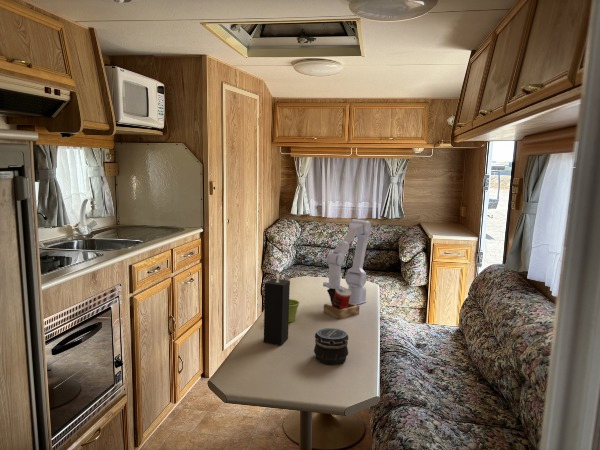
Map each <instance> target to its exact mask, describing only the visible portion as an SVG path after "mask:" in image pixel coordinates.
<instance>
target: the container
mask: <svg viewBox="0 0 600 450" xmlns="http://www.w3.org/2000/svg"><path fill="white" fill-rule="evenodd" d="M314 342H315V345H314V348H313V353H314V354H315V359H316V361H318V362H320V363H321V364H324V365H328V366H337V365H341V364H344V363H345V362H346V360H347V356H348V355H349V349H348V343H349V335H348V333H347V332H346V331H345V330H343V329H340V328H333V327H326V328H324V327H323V328H321V329H318V330H317V331H316V333H315V334H314Z"/></svg>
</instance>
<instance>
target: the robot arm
mask: <svg viewBox="0 0 600 450" xmlns="http://www.w3.org/2000/svg"><path fill="white" fill-rule="evenodd" d="M371 230H372V224H371V222H370V221H369V220H363V219H355V218H353V219H351V221H350V222H349V223H348V231H347V233H346V234H345V236H344V239H343V240H341V241H339V242H338V244H337V245H336V247H335V248H334V250H333V252H331V253H329V254H328V256H327V258H326V260H327V261H326V262H327V265H328V266H327V267H328V268H329V269H328V282H327V281H325V282H323V283H322V287H324V288H327V290H326V291H327V294H328V295H329V299H330V303H331V305H332V302H333V298H334V294H335V290H336V288H337V289H338V290H341V291H342V292H345V291H346V289H345V288H346V287H344V288H343V286H341V273H342V272H341V270H342V265H343V264H344V260H345V257H346V254H347V252H348V251H349V249H350V244H351V242H352V241H353V240H354V238H355V237H357V241H356V245H355V251H354V257H353V262H352V266H351V268H348V269H347V273H346V274H345V278H344V279H345V283H346V284H347V286H348V288H347V289H349V290H350V291H351V296H350V300H349V303H352V304H355V305H361V304H365V303H367V302H368V301H367V289H366V286H365V285H366V282H367V272H366V271H365V270H364V269H363V266H364V263H365V262H364V261H365V257H366V250H367V246H368V239H369V237H370V235H371ZM338 287H339V288H338ZM340 287H342V288H340Z"/></svg>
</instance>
